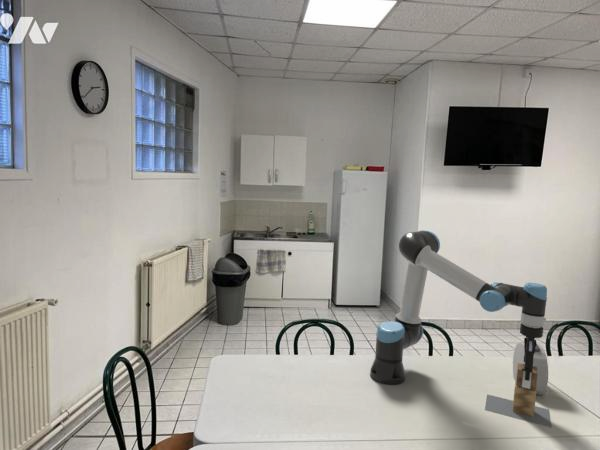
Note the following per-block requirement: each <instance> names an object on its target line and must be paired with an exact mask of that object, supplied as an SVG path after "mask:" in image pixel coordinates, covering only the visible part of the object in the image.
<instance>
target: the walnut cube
mask: <svg viewBox="0 0 600 450" xmlns="http://www.w3.org/2000/svg"><path fill="white" fill-rule="evenodd" d="M524 366H525V365H524V364H520V363H518V367H517V377H516V386H519V387H522V380H523V371H522V369H524ZM532 370H533V372H532V376H531V385H530V389H532V390H536V385H537V375H538V372H537V367H534V366H533V367H532Z"/></svg>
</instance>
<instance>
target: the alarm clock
mask: <svg viewBox="0 0 600 450" xmlns="http://www.w3.org/2000/svg"><path fill="white" fill-rule="evenodd" d="M524 349H525V348H524V341H520V342H517V343H516V344H515V347H514V351H513V357H512V374H513V379H514V381H516V377H517V367H518V363H520V364H523V363H525V362H524V352H525V351H524ZM548 363H549V362H548V359H547V354H546V352H545V349H544V348H543V346H542V344H539V343H536V347H535V353H534V358H533V366H534V367H537V372H538V375H537V385H536V395H539V396H540V395H541V396H543V395H544V394H545V393H546V390H547V388H548V383H549V364H548Z"/></svg>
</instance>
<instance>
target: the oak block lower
mask: <svg viewBox="0 0 600 450" xmlns="http://www.w3.org/2000/svg"><path fill="white" fill-rule="evenodd" d="M512 401H513V412H516V413H520V414H524V415H528V416H532V417H534V409H535V406H536V403H535V404H532V403H528V402H524V401H519V400H515V399H514V398H513V400H512Z"/></svg>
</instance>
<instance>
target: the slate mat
mask: <svg viewBox="0 0 600 450" xmlns="http://www.w3.org/2000/svg"><path fill="white" fill-rule="evenodd" d="M485 400H486V401H485V404H484V405H485V407H484V411H487V412H490V413H494V414H498V415H503V416H506V417H510V418H514V419H517V420H522V421H524V422H528V423H533V424H536V425H539V426H540V425H541V426H543V427H549V428H553V427H552V422H551V414H550V409H549V408H544V407H539V406H537V405H535V409H534V417H532V416H528V415H524V414H520V413H516V412H513V400H512V399H507V398H503V397H500V396H496V395H492V394H486V399H485Z"/></svg>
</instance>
